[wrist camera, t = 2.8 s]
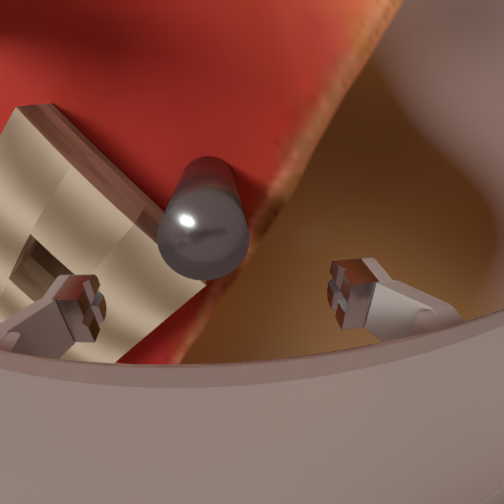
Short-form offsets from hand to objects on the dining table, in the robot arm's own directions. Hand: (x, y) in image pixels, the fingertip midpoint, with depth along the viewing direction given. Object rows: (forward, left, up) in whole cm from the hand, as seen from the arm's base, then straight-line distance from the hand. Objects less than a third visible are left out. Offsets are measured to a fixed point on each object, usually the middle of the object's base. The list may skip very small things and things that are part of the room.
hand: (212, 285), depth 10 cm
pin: (0, 0, -13) cm, 13 cm away
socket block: (-13, +5, -13) cm, 20 cm away
